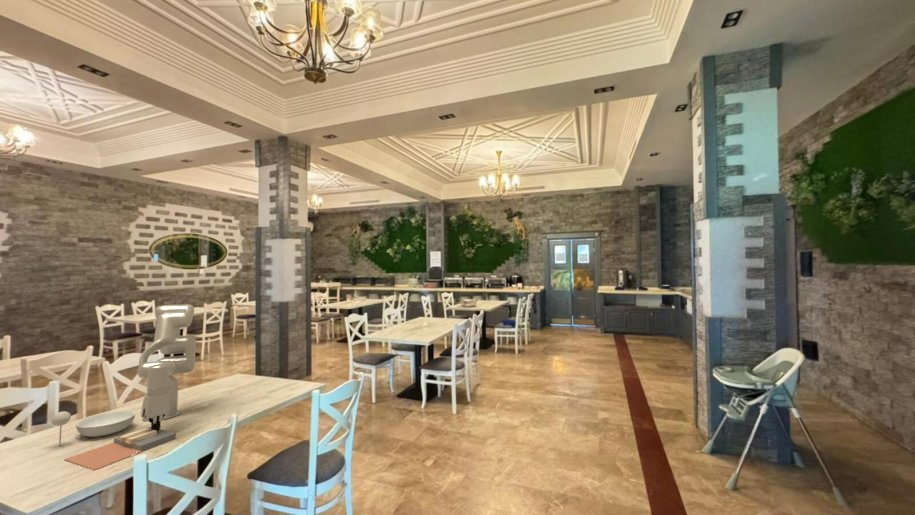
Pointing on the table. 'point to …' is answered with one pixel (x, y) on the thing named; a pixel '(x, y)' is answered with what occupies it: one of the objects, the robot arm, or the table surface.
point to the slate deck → (149, 440)
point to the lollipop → (61, 421)
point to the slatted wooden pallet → (138, 435)
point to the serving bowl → (105, 423)
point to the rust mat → (102, 456)
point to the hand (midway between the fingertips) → (155, 430)
